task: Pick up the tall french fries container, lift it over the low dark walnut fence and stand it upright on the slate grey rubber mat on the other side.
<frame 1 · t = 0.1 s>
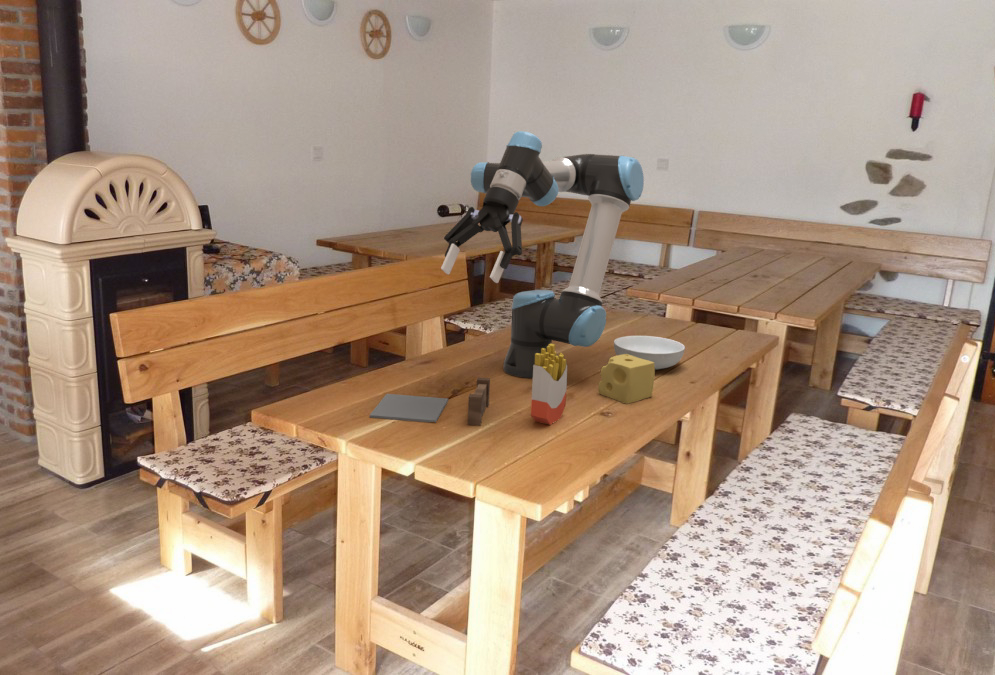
hand: (468, 275, 184), 36 cm above the table, tool tilted 35°, fingers open, 13 cm apart
french fries container: (548, 420, 200), on the table
slate mat: (410, 408, 204), on the table
serving bowl: (647, 366, 248), on the table
cheese: (625, 396, 220), on the table
walnut fence: (478, 414, 202), on the table
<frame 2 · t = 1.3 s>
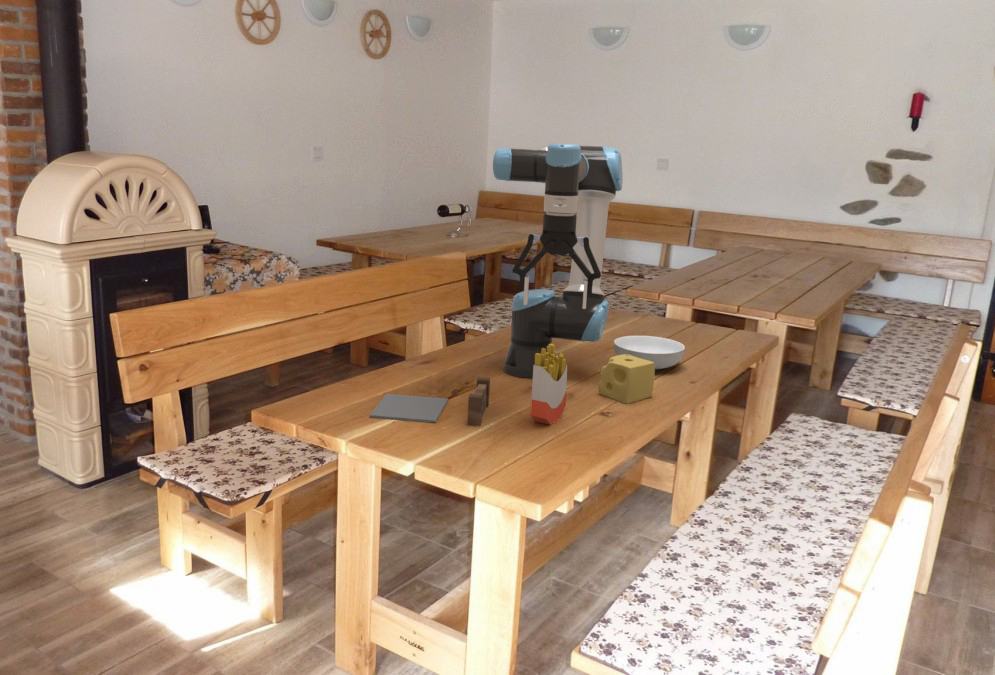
hand: (554, 305, 192), 28 cm above the table, tool pointing down, fingers open, 13 cm apart
nothing on the table moved.
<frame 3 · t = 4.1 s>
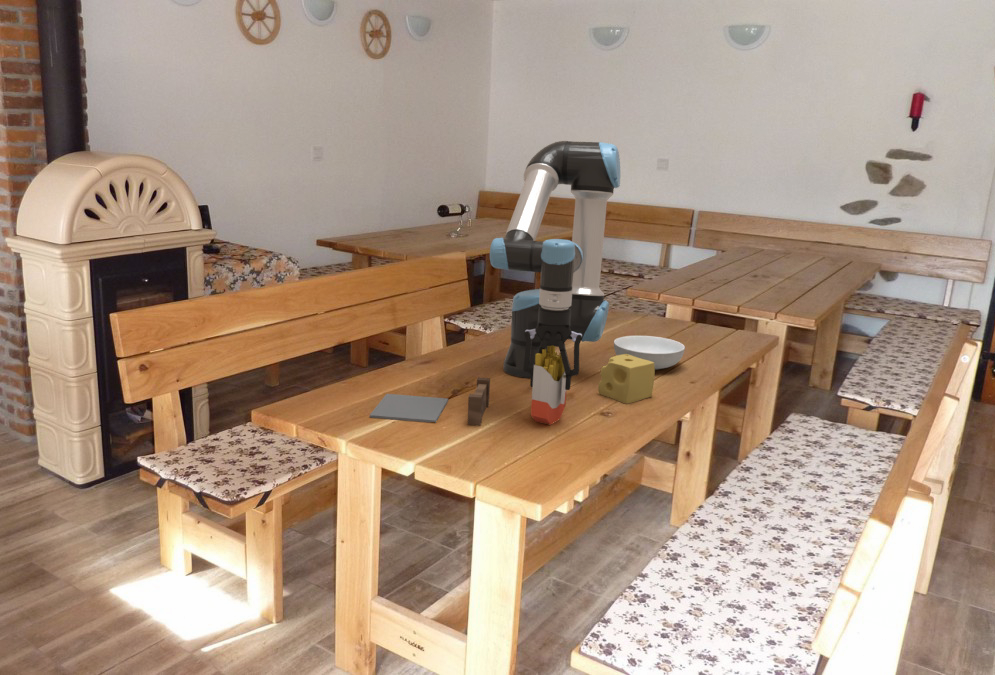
hand: (549, 400, 199), 5 cm above the table, tool pointing down, fingers open, 6 cm apart
french fries container: (548, 420, 200), on the table, touching gripper
everything else where it was.
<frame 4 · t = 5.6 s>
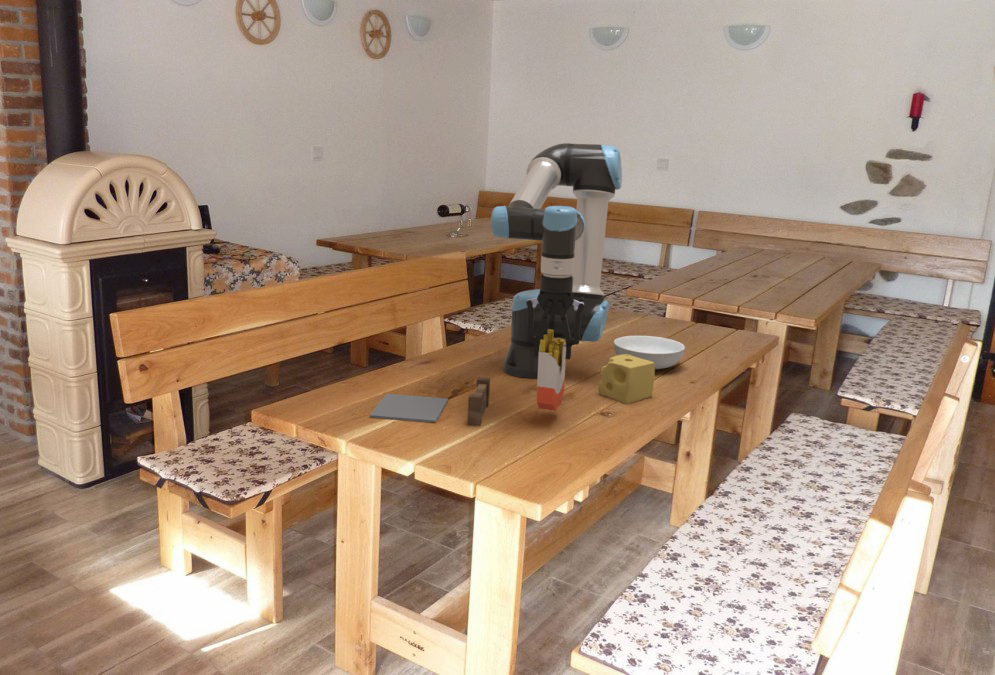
hand: (551, 370, 197), 12 cm above the table, tool pointing down, fingers closed on french fries container, 5 cm apart
french fries container: (550, 406, 199), point 3 cm above the table, touching gripper
everything else where it was.
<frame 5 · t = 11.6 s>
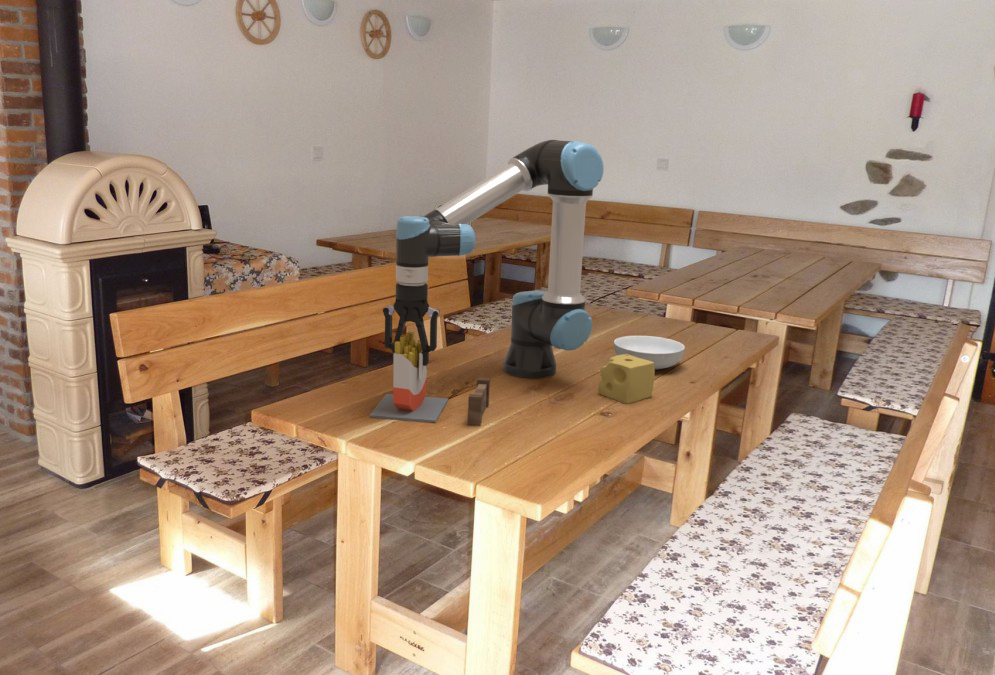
hand: (410, 376, 201), 8 cm above the table, tool pointing down, fingers open, 5 cm apart
french fries container: (410, 407, 203), resting on slate mat, touching gripper
everything else where it was.
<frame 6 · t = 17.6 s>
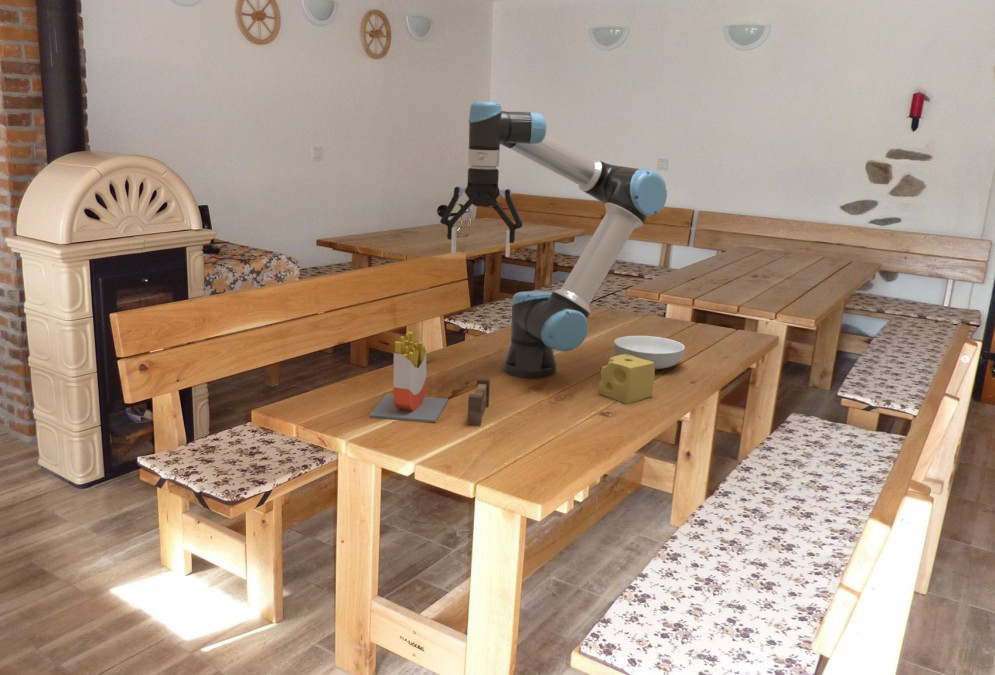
hand: (480, 254, 207), 37 cm above the table, tool pointing down, fingers open, 13 cm apart
french fries container: (410, 407, 203), resting on slate mat
everything else where it was.
at the end: french fries container inside the target area on the slate mat (0.1 cm from its centre), point 0.4 cm above the slate mat's base; french fries container tilted 0°; the gripper is holding nothing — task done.
